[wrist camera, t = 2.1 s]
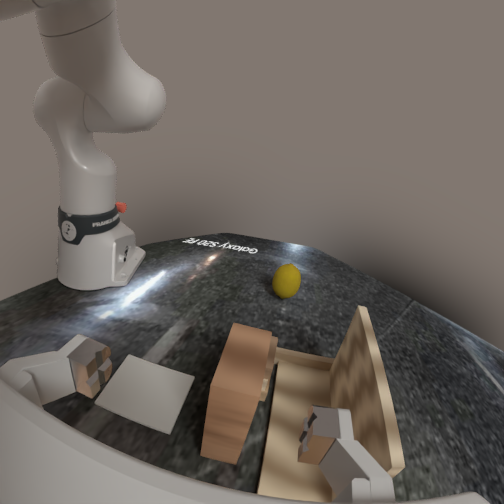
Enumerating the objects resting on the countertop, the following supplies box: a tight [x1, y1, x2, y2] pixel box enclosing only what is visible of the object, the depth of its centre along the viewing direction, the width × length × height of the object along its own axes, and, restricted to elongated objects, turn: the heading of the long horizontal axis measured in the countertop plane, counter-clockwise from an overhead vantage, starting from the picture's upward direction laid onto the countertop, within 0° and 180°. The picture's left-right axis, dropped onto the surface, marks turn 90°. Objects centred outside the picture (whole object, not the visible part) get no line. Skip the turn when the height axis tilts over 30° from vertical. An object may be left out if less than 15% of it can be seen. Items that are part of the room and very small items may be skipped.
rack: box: [257, 306, 405, 503], centre depth 31 cm, size 25×17×13 cm
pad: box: [95, 355, 195, 435], centre depth 34 cm, size 10×10×1 cm
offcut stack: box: [259, 336, 278, 401], centre depth 39 cm, size 7×6×6 cm
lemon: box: [272, 263, 301, 299], centre depth 61 cm, size 6×6×8 cm
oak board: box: [200, 323, 272, 465], centre depth 29 cm, size 9×4×13 cm, turn 171°
